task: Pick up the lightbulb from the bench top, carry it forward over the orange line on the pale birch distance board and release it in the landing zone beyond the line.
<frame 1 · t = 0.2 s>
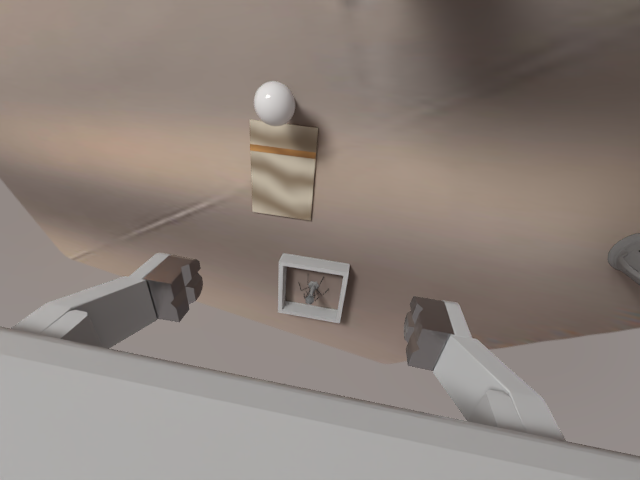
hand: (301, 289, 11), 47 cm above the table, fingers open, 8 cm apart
specimen tray: (313, 284, 72), on the table
glass holder: (621, 247, 56), on the table
lightbulb: (287, 100, 51), on the table
distance board: (282, 173, 58), on the table
bacteriophage: (313, 284, 72), resting in specimen tray
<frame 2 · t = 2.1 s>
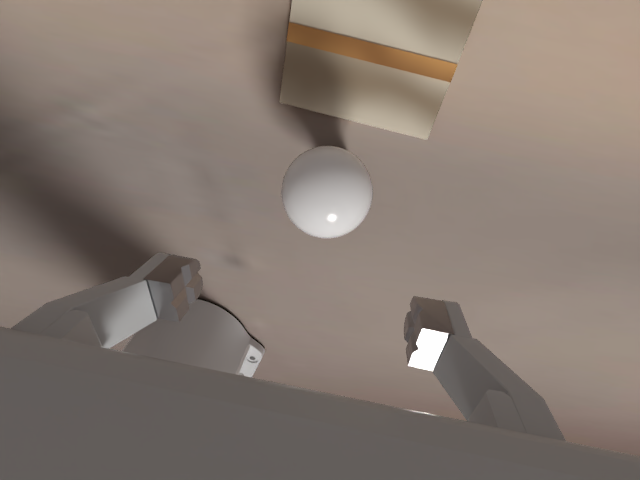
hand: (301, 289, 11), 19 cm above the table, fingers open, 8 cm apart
lightbulb: (336, 163, 27), on the table
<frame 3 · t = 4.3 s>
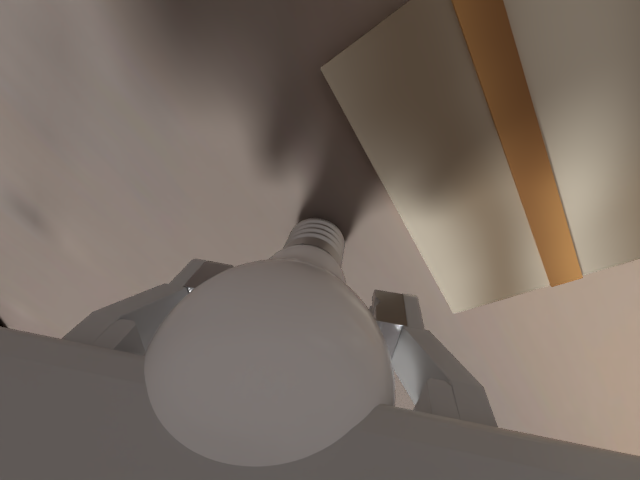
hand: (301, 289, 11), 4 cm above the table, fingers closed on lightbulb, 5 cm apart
lightbulb: (319, 234, 15), on the table, touching gripper
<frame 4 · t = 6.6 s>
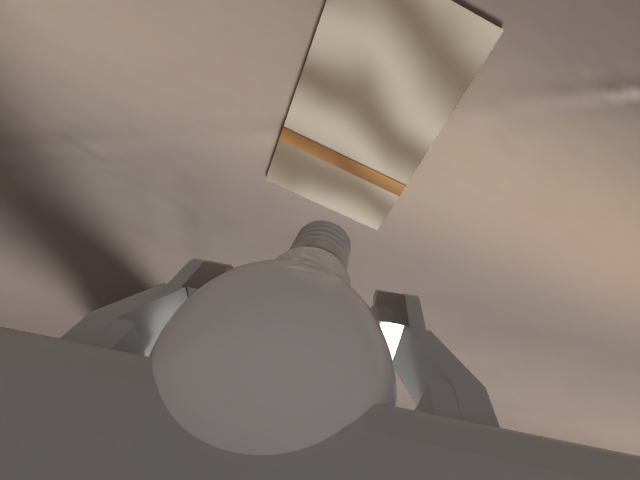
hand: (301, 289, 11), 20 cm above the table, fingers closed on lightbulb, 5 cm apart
lightbulb: (326, 236, 15), point 16 cm above the table, touching gripper
distance board: (365, 116, 26), on the table
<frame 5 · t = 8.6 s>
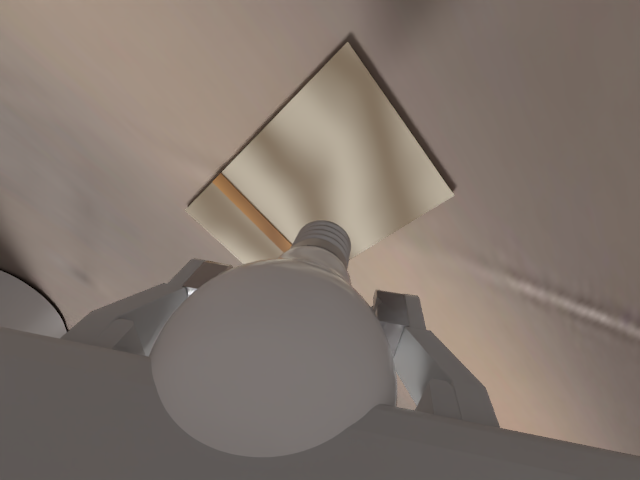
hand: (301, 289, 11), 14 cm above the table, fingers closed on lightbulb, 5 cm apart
lightbulb: (326, 236, 15), point 10 cm above the table, touching gripper
distance board: (308, 201, 24), on the table
when the fingers open (5 cm above the table, at t = 11.7 s): lightbulb stays where it is, resting on distance board.
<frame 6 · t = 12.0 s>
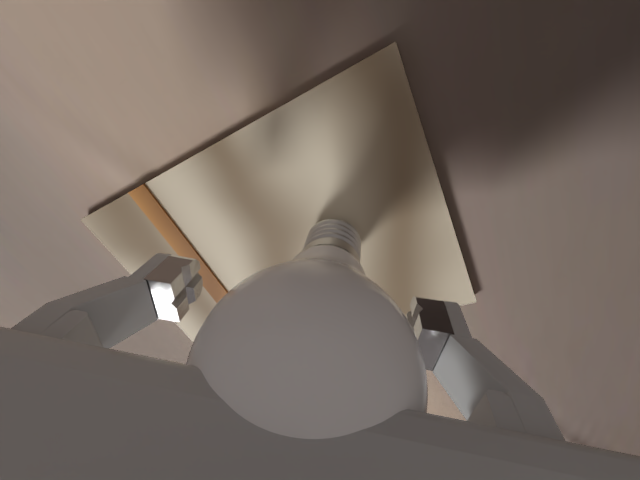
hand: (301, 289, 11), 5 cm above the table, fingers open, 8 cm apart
lightbulb: (335, 234, 15), resting on distance board
distance board: (272, 254, 17), on the table
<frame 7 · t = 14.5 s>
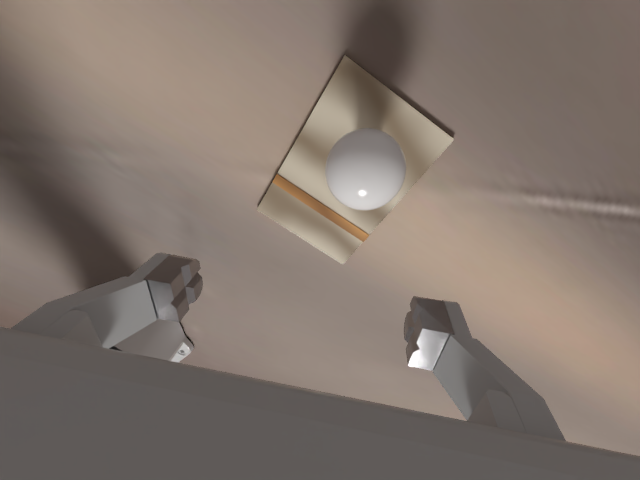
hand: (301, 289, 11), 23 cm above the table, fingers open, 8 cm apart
lightbulb: (366, 147, 30), resting on distance board
distance board: (344, 177, 32), on the table
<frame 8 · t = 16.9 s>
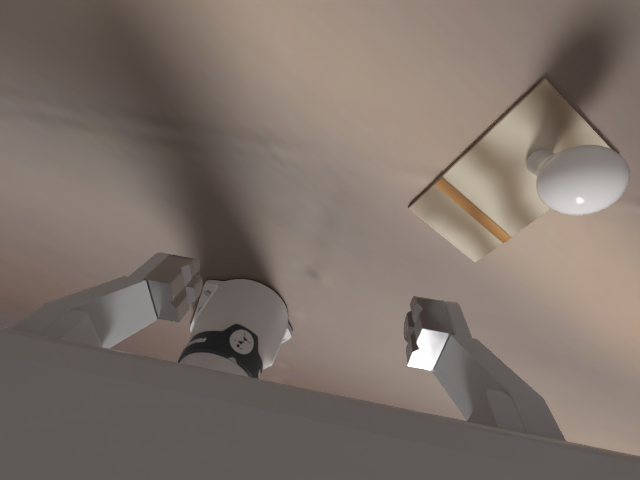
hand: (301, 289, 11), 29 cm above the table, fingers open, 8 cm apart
lightbulb: (535, 159, 33), resting on distance board
distance board: (502, 184, 36), on the table
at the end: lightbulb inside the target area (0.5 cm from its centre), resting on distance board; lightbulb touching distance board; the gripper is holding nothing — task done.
